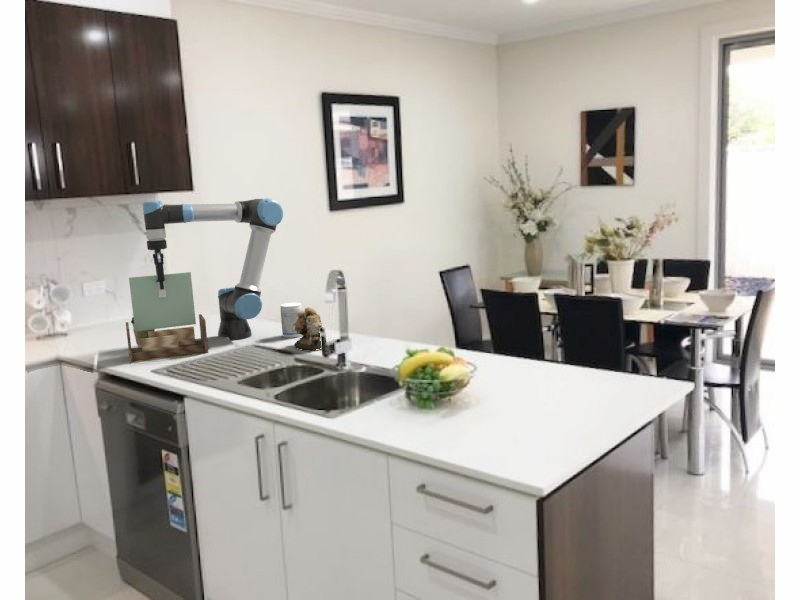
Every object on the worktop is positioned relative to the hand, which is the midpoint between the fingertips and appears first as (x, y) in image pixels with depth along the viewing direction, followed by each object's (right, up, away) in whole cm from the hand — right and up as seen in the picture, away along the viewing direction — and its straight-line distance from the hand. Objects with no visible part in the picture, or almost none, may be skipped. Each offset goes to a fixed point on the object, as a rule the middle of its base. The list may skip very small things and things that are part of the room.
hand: (162, 296), depth 283 cm
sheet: (+1, -13, +2) cm, 13 cm away
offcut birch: (0, -24, -3) cm, 24 cm away
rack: (+3, -25, 0) cm, 25 cm away
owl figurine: (+59, -21, +9) cm, 64 cm away
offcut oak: (+4, -23, +2) cm, 24 cm away
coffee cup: (-12, -24, +14) cm, 30 cm away
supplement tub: (+49, -18, +31) cm, 61 cm away
